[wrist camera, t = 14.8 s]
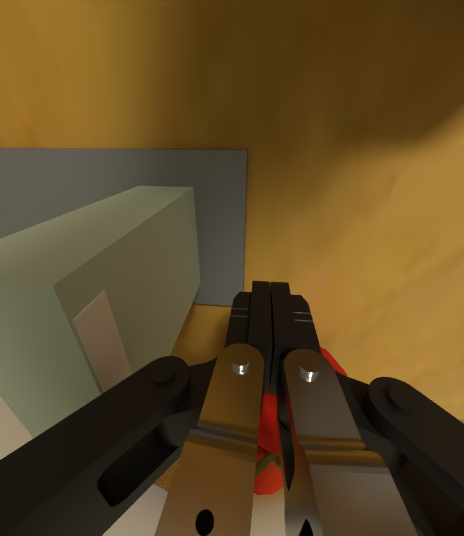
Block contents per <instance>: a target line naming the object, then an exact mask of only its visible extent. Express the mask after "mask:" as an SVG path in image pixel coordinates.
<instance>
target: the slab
mask: <svg viewBox="0 0 464 536" xmlns="http://www.w3.org/2000/svg"><path fill="white" fill-rule="evenodd" d="M200 284H201V280H200V267H199V254H198V241H197V228H196V215H195V202H194V189H193V187H170V186H137V187H134V188H132V189H129V190H127V191H124V192H121V193H119V194H116V195H113V196H111V197H108V198H106V199H103V200H100V201H98V202H95V203H93V204H90V205H87V206H85V207H82V208H80V209H77V210H74V211H72V212H69V213H66V214H64V215H61V216H59V217H56V218H53V219H51V220H48V221H46V222H43V223H40V224H38V225H35V226H33V227H30V228H27V229H25V230H22V231H19V232H17V233H14V234H12V235H9V236H6V237H4V238H1V239H0V396H1V397H2V399H3V400H4V401H5V402H6V404H7V405H8V406H9V408H10V409H11V410H12V411H13V413H14V414H15V415H16V416H17V418H18V419H19V420H20V421H21V422H22V424H23V425H24V426H25V428H26V429H27V430H28V431H29V433H30V434H31V435H32V436H33V438H35V437H37V436H38V435H40V434H41V433H43V432H44V431H46V430H47V429H49V428H50V427H52V426H54V425H55V424H57V423H58V422H60V421H61V420H63V419H64V418H66V417H67V416H69V415H70V414H72V413H73V412H75V411H77V410H78V409H80V408H81V407H83V406H84V405H86V404H87V403H89V402H90V401H92V400H93V399H95V398H97V397H98V396H100V395H101V394H103V393H104V392H106V391H107V390H109V389H110V388H112V387H113V386H115V385H116V384H118V383H120V382H121V381H123V380H124V379H126V378H127V377H129V376H130V375H132V374H133V373H135V372H136V371H138V370H139V369H141V368H143V367H144V366H146V365H147V364H149V363H150V362H152V361H154V360H155V359H158V358H161V357H165V356H170V354H171V352H172V349H173V347H174V345H175V342H176V340H177V338H178V335H179V333H180V331H181V328H182V326H183V324H184V321H185V319H186V317H187V314H188V312H189V310H190V307H191V305H192V303H193V300H194V298H195V296H196V293H197V291H198V289H199V286H200Z"/></svg>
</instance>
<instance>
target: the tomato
mask: <svg viewBox="0 0 464 536" xmlns="http://www.w3.org/2000/svg"><path fill="white" fill-rule="evenodd" d="M320 348H321V347H320ZM321 352H322V355H323V356H324V357H325V358H326V359H327V360H328V361H329V362H330V363H331V365H332V366H333V368H334V369H335V370H336V371H337V372H339V373H341V374H343V375H345V376H347V374H346V372H345V371H344V370H343V369H342V368H341V366H340V365H339V364H338V363H337V361H336V360H335V359H334V358H333V357H332V356H331V355H330V353H329V352H328V351H327V350H326V349H323V348H321ZM276 412H277V397H276V395H269V384H268V393H267V395H266V394H264V397H263V407H262V414H261V417H260V421H259V433H258V446H257V458H256V470H255V482H254V493H256V494H257V495H262V494H273V493H274V492H276V491H277V490H279V489H281V488H282V487H283V478H282V470H281V461H280V453H279V444H278V435H277V427H276Z"/></svg>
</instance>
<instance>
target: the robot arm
mask: <svg viewBox="0 0 464 536" xmlns="http://www.w3.org/2000/svg"><path fill="white" fill-rule="evenodd" d="M268 384H269V395H276V397H277V412H276V427H277V435H278V444H279V453H280V461H281V470H282V478H283V487H284V500H285V531H286V536H464V424H463V423H462V422H461V421H459V420H458V419H457V418H455V417H454V416H452V415H451V414H450V413H448V412H447V411H445V410H444V409H443V408H441V407H440V406H438V405H437V404H436V403H434V402H433V401H432V400H430V399H429V398H427V397H426V396H425V395H423V394H422V393H420V392H419V391H418V390H416V389H415V388H413V387H412V386H410V385H409V384H407V383H405V382H403V381H401V380H398V379H395V378H391V377H379V378H376V379H374V380H373V381H372V382H371V383H370V385H369V384H366V383H363V382H360V381H358V380H355V379H352V378H349V377H347V376H345V375H343V374H341V373H339V372H337V371H336V370H335V369H334V368H333V366H332V365H331V363H330V362H329V361H328V360H327V359H326V358H325V357H324V356H323V355H322V352H321V348H320V345H319V341H318V337H317V334H316V330H315V327H314V323H313V319H312V316H311V312H310V308H309V305H308V303H307V302H306V300H305V299H304V298H303V297H302V296H301V295H291V294H290V288H289V283H285V282H271V283H270V282H266V281H253V283H252V292H239V293H238V294H237V295H236V296H235V297H234V299H233V304H232V309H231V316H230V320H229V326H228V331H227V336H226V342H225V346H224V349H223V350H222V351H221V352H220V353H219V355H218V356H217V357H216V358H215V359H213V360H211V361H209V362H207V363H203V364H198V365H193V366H188V365H187V364H186V362H185V361H184V360H182V359H180V358H178V357H175V356H165V357H161V358H158V359H155V360H154V361H152V362H150V363H149V364H147V365H146V366H144V367H143V368H141V369H139V370H138V371H136V372H135V373H133V374H132V375H130V376H129V377H127V378H126V379H124V380H123V381H121V382H120V383H118V384H116V385H115V386H113V387H112V388H110V389H109V390H107V391H106V392H104V393H103V394H101V395H100V396H98V397H97V398H95V399H93V400H92V401H90V402H89V403H87V404H86V405H84V406H83V407H81V408H80V409H78V410H77V411H75V412H73V413H72V414H70V415H69V416H67V417H66V418H64V419H63V420H61V421H60V422H58V423H57V424H55V425H54V426H52V427H50V428H49V429H47V430H46V431H44V432H43V433H41V434H40V435H38V436H37V437H35V438H34V439H32V440H31V441H29V442H28V443H26V444H24V445H23V446H21V447H20V448H18V449H17V450H15V451H14V452H12V453H11V454H9V455H7V456H6V457H4V458H3V459H1V460H0V536H102V535H103V534H104V533H105V532H106V531H107V530H108V529H109V528H110V527H111V526H112V525H113V524H114V523H115V522H116V521H117V520H118V519H119V518H120V517H121V516H122V515H123V514H124V513H125V512H126V511H127V510H128V509H129V507H130V506H132V505H133V504H134V503H135V501H136V500H137V499H138V498H139V497H140V496H141V495H142V494H143V493H144V492H145V491H146V490H147V489H148V488H149V487H150V486H151V485H152V484H153V483H154V482H155V481H156V480H157V479H158V478H159V477H160V476H161V475H162V474H163V473H164V472H165V471H166V470H167V469H168V468H169V467H170V466H171V465H172V464H173V463H174V462H175V461H176V460H177V459H178V458H179V457H180V458H179V461H178V464H177V467H176V470H175V473H174V477H173V480H172V483H171V486H170V489H169V492H168V495H167V498H166V501H165V505H164V507H163V510H162V513H161V517H160V520H159V523H158V526H157V529H156V532H155V535H154V536H250V529H251V517H252V505H253V494H254V482H255V470H256V458H257V446H258V433H259V421H260V417H261V414H262V407H263V397H264V394H266V395H267V393H268Z"/></svg>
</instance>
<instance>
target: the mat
mask: <svg viewBox="0 0 464 536" xmlns="http://www.w3.org/2000/svg"><path fill="white" fill-rule="evenodd" d="M247 156H248V150H229V149H59V148H0V239H1V238H4V237H6V236H9V235H12V234H14V233H17V232H19V231H22V230H25V229H27V228H30V227H33V226H35V225H38V224H40V223H43V222H46V221H48V220H51V219H53V218H56V217H59V216H61V215H64V214H66V213H69V212H72V211H74V210H77V209H80V208H82V207H85V206H87V205H90V204H93V203H95V202H98V201H100V200H103V199H106V198H108V197H111V196H113V195H116V194H119V193H121V192H124V191H127V190H129V189H132V188H134V187H137V186H170V187H193V189H194V202H195V215H196V228H197V241H198V254H199V267H200V280H201V284H200V286H199V289H198V291H197V293H196V296H195V298H194V300H193V303H194V304H208V305H222V306H232V304H233V299H234V297H235V296H236V295H237V294H238V293H239V292H243V290H244V256H245V223H246V190H247Z"/></svg>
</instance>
